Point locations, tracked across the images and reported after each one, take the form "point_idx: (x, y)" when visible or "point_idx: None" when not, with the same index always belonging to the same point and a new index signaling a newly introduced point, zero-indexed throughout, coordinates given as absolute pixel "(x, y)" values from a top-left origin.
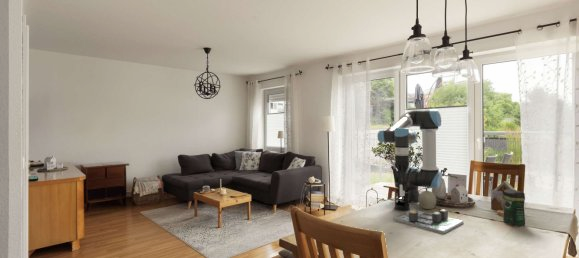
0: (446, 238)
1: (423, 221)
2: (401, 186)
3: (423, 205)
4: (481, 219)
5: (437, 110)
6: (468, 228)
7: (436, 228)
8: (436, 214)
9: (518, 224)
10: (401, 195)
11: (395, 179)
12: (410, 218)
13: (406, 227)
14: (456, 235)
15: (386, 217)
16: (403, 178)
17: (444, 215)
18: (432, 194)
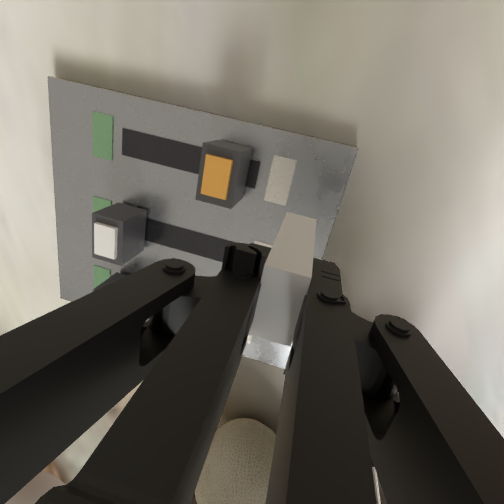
0: (24, 11)
1: (182, 185)
2: (280, 258)
3: (256, 426)
4: None
5: None
6: (32, 237)
7: (89, 98)
8: (100, 221)
9: None
10: (294, 216)
11: (425, 368)
12: (238, 146)
13: (245, 52)
14: (19, 100)
15: (416, 184)
16: (193, 340)
17: (104, 282)
18: (200, 499)
